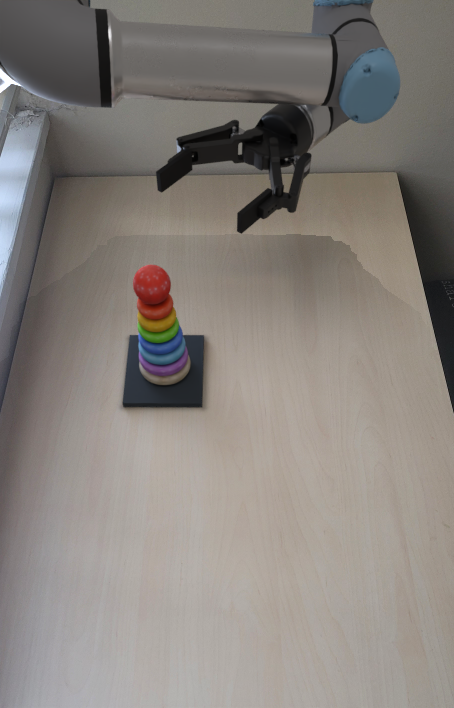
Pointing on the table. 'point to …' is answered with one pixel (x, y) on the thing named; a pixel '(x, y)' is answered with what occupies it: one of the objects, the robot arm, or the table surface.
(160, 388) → the mat
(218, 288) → the table surface
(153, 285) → the stacking toy
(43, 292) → the table surface
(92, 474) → the table surface
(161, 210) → the table surface
